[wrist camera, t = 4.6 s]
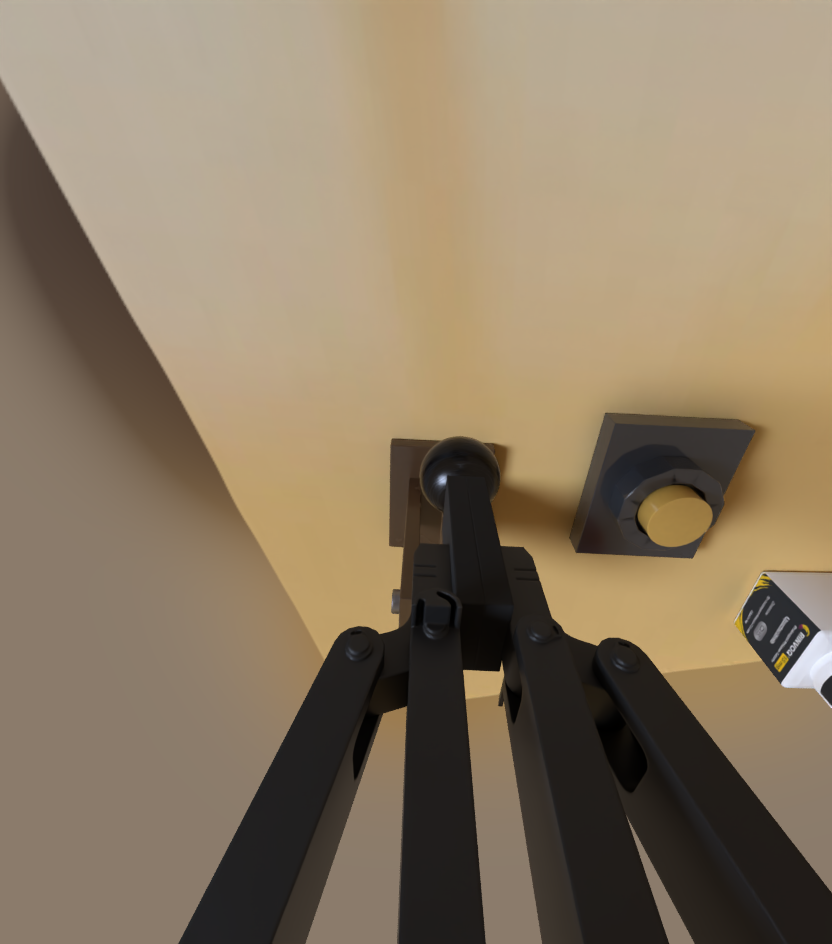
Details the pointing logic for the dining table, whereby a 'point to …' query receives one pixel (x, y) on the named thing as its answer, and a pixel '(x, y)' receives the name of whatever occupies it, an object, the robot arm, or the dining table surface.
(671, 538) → the tan short cylinder
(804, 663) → the medicine bottle
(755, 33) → the dining table surface
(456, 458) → the flush lever
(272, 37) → the dining table surface
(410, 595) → the lever bracket
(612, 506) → the button base
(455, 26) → the dining table surface
